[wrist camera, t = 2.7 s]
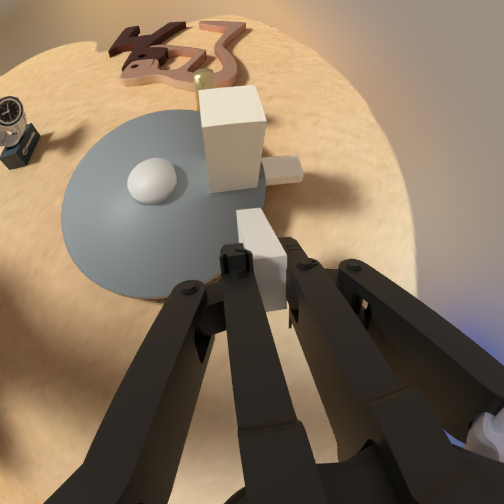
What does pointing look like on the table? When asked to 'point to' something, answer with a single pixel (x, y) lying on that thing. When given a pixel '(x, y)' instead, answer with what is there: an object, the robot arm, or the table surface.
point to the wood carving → (154, 55)
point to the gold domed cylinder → (202, 82)
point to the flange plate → (170, 193)
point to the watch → (15, 133)
